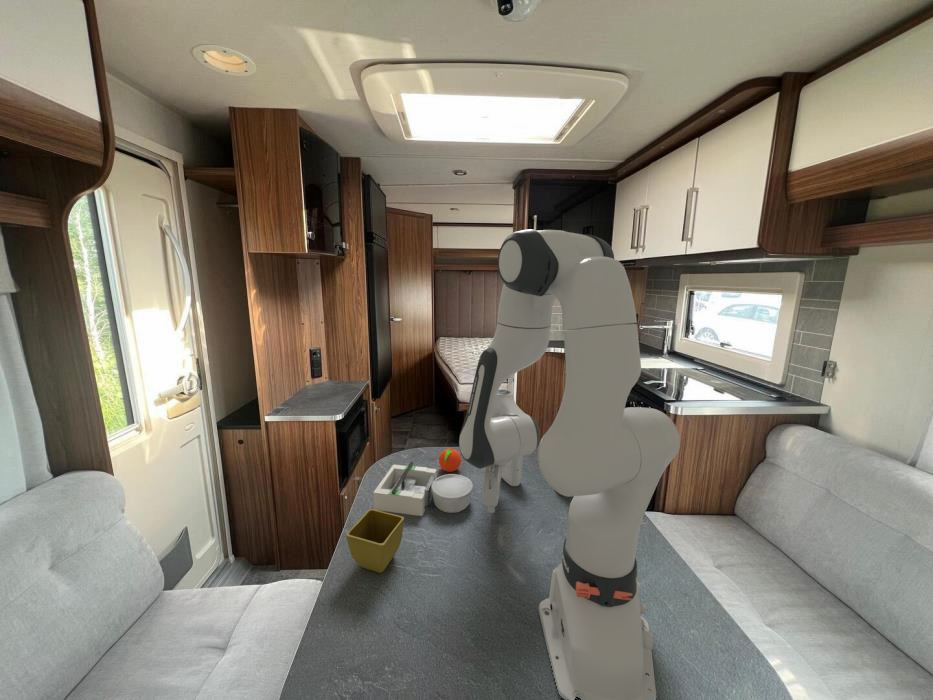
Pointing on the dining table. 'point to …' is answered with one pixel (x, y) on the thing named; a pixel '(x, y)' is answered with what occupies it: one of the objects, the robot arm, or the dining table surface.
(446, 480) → the ramekin
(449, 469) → the red tomato
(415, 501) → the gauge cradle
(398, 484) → the grey metal pieces
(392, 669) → the dining table surface
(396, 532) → the flower pot
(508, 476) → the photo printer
